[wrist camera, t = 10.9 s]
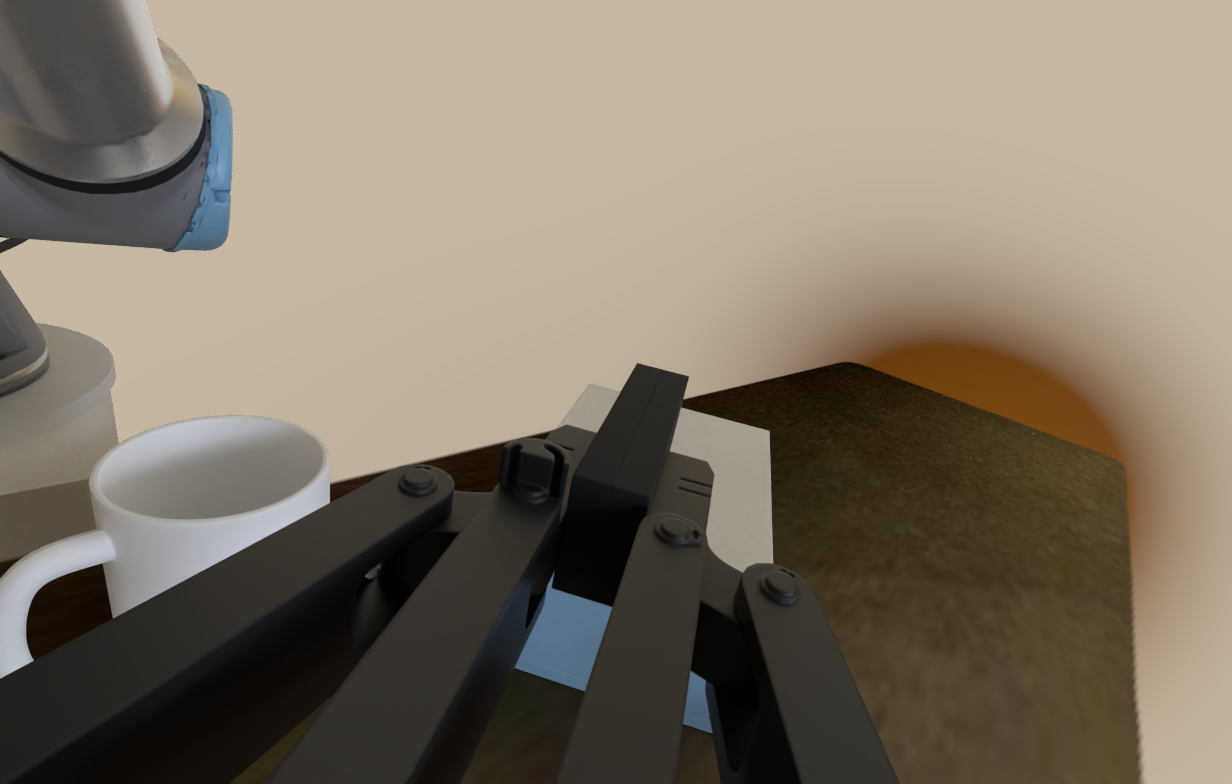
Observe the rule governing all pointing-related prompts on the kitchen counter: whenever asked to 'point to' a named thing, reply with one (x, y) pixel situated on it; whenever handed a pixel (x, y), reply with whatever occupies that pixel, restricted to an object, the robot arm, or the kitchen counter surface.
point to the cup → (174, 511)
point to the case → (585, 649)
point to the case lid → (738, 480)
